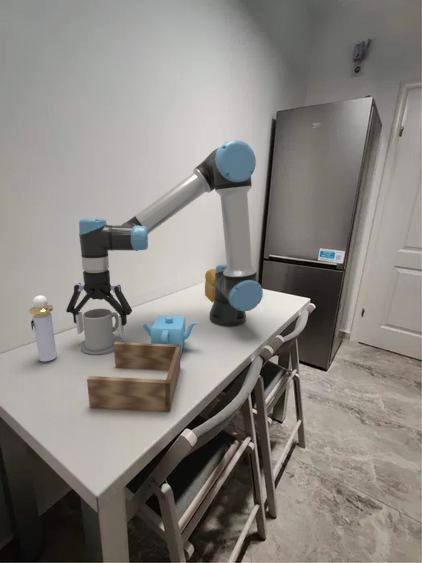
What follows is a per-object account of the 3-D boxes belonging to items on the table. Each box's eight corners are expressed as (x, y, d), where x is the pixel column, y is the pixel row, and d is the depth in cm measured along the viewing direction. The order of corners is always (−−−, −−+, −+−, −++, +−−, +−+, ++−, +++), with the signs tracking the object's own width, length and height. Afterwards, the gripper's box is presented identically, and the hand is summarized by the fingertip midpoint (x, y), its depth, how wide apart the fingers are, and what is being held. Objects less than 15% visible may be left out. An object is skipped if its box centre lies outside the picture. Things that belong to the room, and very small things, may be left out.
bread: (212, 302, 135) (213, 272, 131) (204, 294, 147) (205, 266, 143) (256, 298, 143) (259, 270, 139) (246, 291, 154) (247, 265, 150)
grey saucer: (128, 336, 98) (128, 334, 97) (114, 356, 85) (114, 353, 85) (91, 335, 98) (91, 333, 98) (72, 354, 85) (72, 351, 85)
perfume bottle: (61, 353, 86) (53, 291, 80) (56, 363, 80) (47, 298, 75) (41, 355, 84) (31, 292, 79) (33, 365, 79) (23, 299, 74)
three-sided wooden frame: (180, 368, 80) (180, 344, 78) (169, 411, 63) (169, 383, 61) (116, 365, 80) (115, 341, 78) (89, 407, 64) (86, 379, 62)
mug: (96, 354, 84) (94, 320, 81) (80, 346, 89) (76, 314, 86) (127, 339, 94) (126, 309, 91) (111, 332, 98) (109, 303, 96)
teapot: (149, 337, 98) (148, 307, 95) (200, 339, 98) (201, 309, 95) (136, 361, 83) (134, 327, 80) (196, 364, 82) (197, 329, 79)
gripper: (140, 268, 88) (142, 329, 94) (62, 265, 89) (69, 326, 94) (133, 274, 81) (135, 340, 87) (48, 271, 81) (57, 336, 87)
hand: (101, 333), depth 90 cm, fingers open, 13 cm apart
